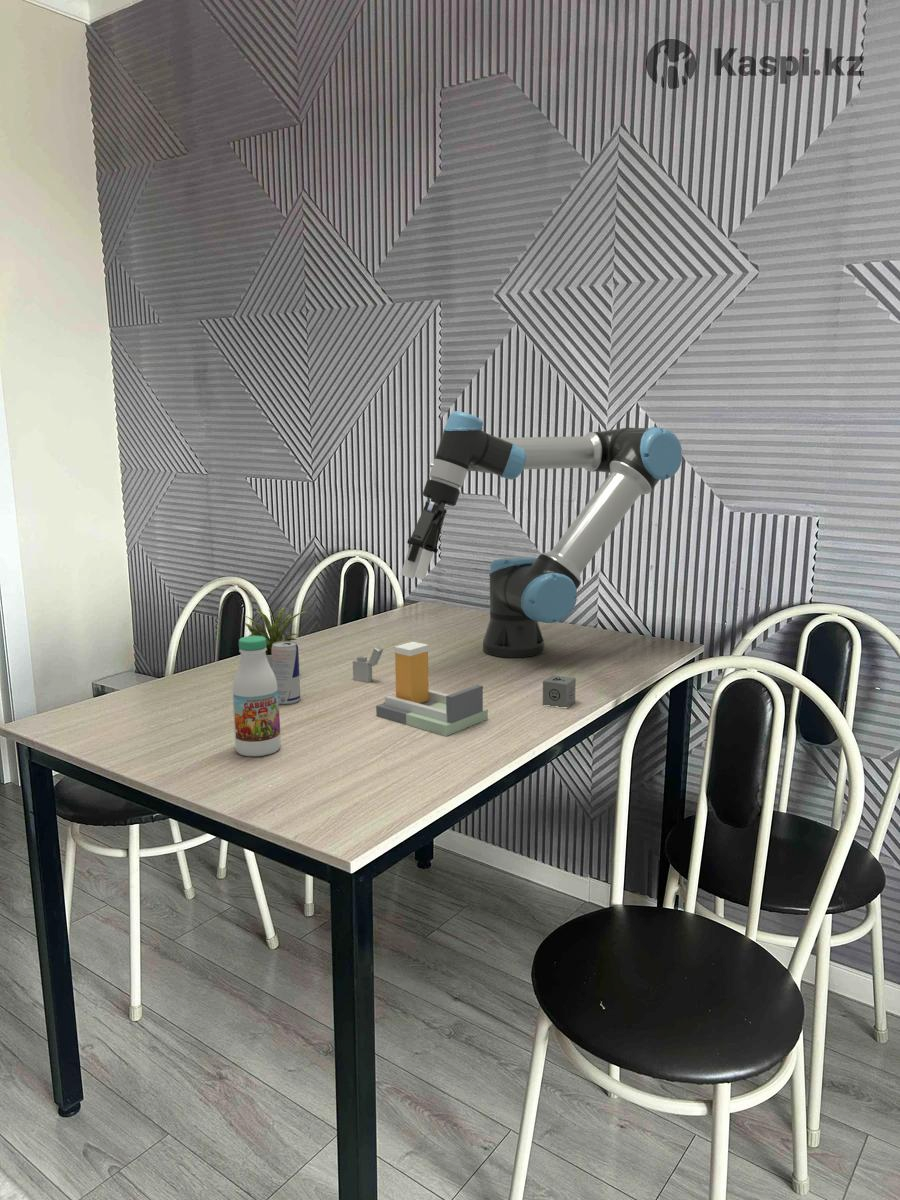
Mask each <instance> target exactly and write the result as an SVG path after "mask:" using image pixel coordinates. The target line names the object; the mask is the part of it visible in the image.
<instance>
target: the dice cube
mask: <svg viewBox="0 0 900 1200" xmlns="http://www.w3.org/2000/svg"><path fill="white" fill-rule="evenodd" d="M576 681H577V680H576V677H569V676H563V675H555V674H552V675H550V676H548V677H547V678H546V679H544V680H543V681H542V706H544V705H550V706H549V707H551V706H558V707H568V706H569V705H570V704H572V703H573V702H574V703H576V683H577V682H576ZM574 703H573V704H574ZM573 704H572V705H573ZM570 706H571V705H570ZM570 706H569V707H570ZM569 707H568V708H569Z"/></svg>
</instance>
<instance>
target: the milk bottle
mask: <svg viewBox="0 0 900 1200" xmlns="http://www.w3.org/2000/svg"><path fill="white" fill-rule="evenodd" d="M266 645H267V643H266V638H265V637H263V636H249V635H248V636H244V637H241V638H239V639H238V649H239V653H240V659H239V660H240V661H239V664H238V666H237V669H236V672H235V674H234V678H233V682H232V709H233V710H232V712H233V727H234V741H235V742H234V744H235V750H236V752H237V753H238V754H239V755H242V756H246V757H263V756H268V755H271V754H274V753H276V752H277V751H279V750H280V747H281V745H282V743H281V742H282V741H281V721H280V719H281V718H280V704H279V700H278V687H277V681H276V677H275V675H274V673H273V671H272V669H271V667H270V665H269V663H268V660H267V657H266V650H267V648H266Z"/></svg>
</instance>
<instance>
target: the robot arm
mask: <svg viewBox="0 0 900 1200" xmlns="http://www.w3.org/2000/svg"><path fill="white" fill-rule="evenodd" d="M483 425H484V421H483V420H482V419H481V418H478V417H477V416H475V415H473V414H470V413H468V412H463V411H459V410H458V411H457V410H455V411H452V412H451V413H450V414H449V416H448V419H447V420H446V424H445V426H444V428H443V430H442V431H443V433H442V435H441V438H440V441H439V445H438V448H437V451H436V454H435V457H434V460H433V462H432V463H431V462H430V464H429V468H431V469H430V471H429V474H428V476H429V478H430V479H427V480H426V482H425V486H424V489H423V492H422V496H424V497H425V498H427V499H430V500H426V501H425V503H424V506H423V510H422V511H421V514H420V517H419V518H418V521H417V523H416V525H415V527H414V530H413V532H412V534H411V536H410V537H409V538H408V539H407V541H406V543H407V545H409V548H408V550H407V554H406V556H405V559H404V563H403V566H402V568H401V571H400V576H403V577H407V578H410V579H414V578H417V579H420V580H423V581H424V580H425V579H426V575H427V573H428V570H429V568H430V567H429V566H430V565H431V561H432V558H433V556H434V553H435V554H437V553H438V551H439V549H438V544H439V539H440V536H441V532H442V527H443V524H444V520H445V517H446V514H447V509H446V508H445V505H448V506H451V507H454V506H456V505H457V502H458V499H459V496H460V493H461V492H460V491H461V490H460V489H459V488H462V487H463V485H464V482H465V479H466V476H467V474H468V472H479V473H485V474H493V475H496V476H499V477H500V478H504V479H507V480H510V481H511V480H515V479H516V478H517V479H518V477H519V476H520V475H521V474H522V472H523V470H548V469H549V470H550V469H551V470H553V469H585V470H586V471H587V472H592V473H593V472H597V473H598V472H600V473H608V474H609V475H608V476H607V477H606V478H605V480H604V481H603V483H601V485H600V486H599V488H598V489H597V490H596V491H595V493H594V494H593V496H592V497H591V498H590V499H589V501H588V502H587V503H586V505H585V506H584V507H583V509H582V510H581V511H580V512H579V514H578V515H577V516H576V518H575V519H574V520H573V521H572V523H571V524H570V525H569V527H568V528H567V530H566V531H565V532H564V534H563V535H562V536H561V538H560V539H559V540H558V541H557V543H556V544H555V545H554V547H553V548H552V550H550V551H549V552H541V553H540V554H539V555H538V557H537V558H536V557H533V556H532V557H529V556H528V557H511V558H499V559H495V560H492V561H491V563H490V567H489V572H488V573H489V575H488V576H489V621H488V625H487V627H486V632H485V634H484V637H483V641H482V651H483V652H484V653H486V654H488V655H490V656H495V657H502V658H529V657H535V656H538V655H540V654H543V652H544V651H545V639H544V637H543V633H542V630H541V628H540V624H539V622H540V623H545V624H552V623H557V622H560V621H562V620H563V619H564V620H565V618H567V617H568V616H569V615H570V614H571V612H572V611H573V610H574V609H575V606H576V604H577V599H578V598H577V595H578V591H577V590H578V589H579V587H580V586H581V584H582V579H581V573H582V572H583V571H584V569H585V568H586V567H587V565H589V563H590V561H591V560H592V559H593V557H594V556H595V555H596V554H597V553H598V551H599V550H600V548H601V547H602V546H603V545H604V543H605V542H606V541H607V539H608V538H609V537H610V535H611V534H612V532H614V530H615V529H616V527H617V526H618V525H619V524H620V522H621V521H622V520H623V518H624V517H625V516H626V514H627V513H628V512H629V511H630V509H631V507H632V506H633V505H634V504H635V502H636V501H637V500H638V499H639V497H640V496H641V495H642V496H643V495H648V494H650V493H651V492H652V491H653V490H654V488H655V487H656V485H657V484H658V483H659V481H660V480H661V481H663V480H668V479H670V478H672V477H673V476H675V474H677V472H678V471H679V469H680V467H681V464H682V460H683V453H682V450H683V449H682V446H681V445H682V444H681V441H680V440H679V439H678V436H677V435H675V434H674V432H672V431H671V430H669V429H667V428H660V427H658V426H653V427H623V428H617V429H611V430H604V431H589V432H587V433H586V434H584V435H583V436H582V435H581V436H534V437H530V436H529V437H527V436H526V437H523V436H522V437H497V436H495V435H492V434H489V433H487V432H485V430H483V427H484V426H483Z"/></svg>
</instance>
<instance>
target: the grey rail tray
mask: <svg viewBox="0 0 900 1200" xmlns="http://www.w3.org/2000/svg"><path fill="white" fill-rule="evenodd" d="M483 693H484V686H483V685H481V684H476V685H472V686H470V687H467V688H465V689H461V690H459V691H456V692H453V693H450V694H448V693H444V692H441V691H436V690H433V689H429V700H428V701H425V702H423V703H420V704H419V703H415V702H412V701H408V700H404V699H401V698H397V697H396V696H393V695H388V696H385V697H384V700H385V701H384V702H383V703H380V704H377V705H375V710H376V711H375V715H376V716H377V717H378V718H379V717H380V718H383V719H387V720H389V721H394V722H396V721H397V722H396V723H401V724H403V725H407V726H411V727H414V728H417V729H420V730H424V731H428V732H429V733H434V734H438V735H441V736H444V737H448V736H451V735H452V733H453V734H455V733H458V732H459V731H463V730H465V729H467V727H468V728H471V727H473V726H475V725H478V724H480V723H482V722H485V721H488V718H489V717H488V716H489V714H488V713H489V712H488V709H487V708H484V706H483V705H484V701H483V700H484V699H483V698H484V696H483ZM484 720H485V721H484ZM479 722H480V723H479ZM477 723H478V724H477ZM472 725H473V726H472ZM462 729H463V730H462ZM450 734H451V735H450Z"/></svg>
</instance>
